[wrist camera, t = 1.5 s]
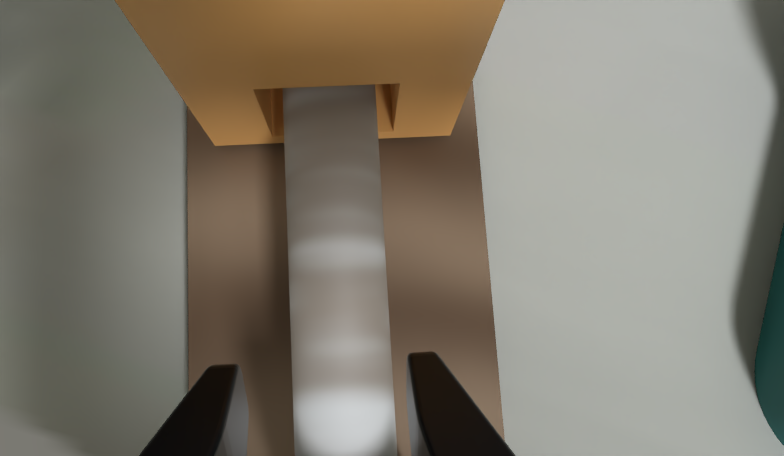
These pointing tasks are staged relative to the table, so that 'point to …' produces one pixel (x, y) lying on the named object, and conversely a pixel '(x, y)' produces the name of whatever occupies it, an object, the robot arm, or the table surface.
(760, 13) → the table surface
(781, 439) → the bracket
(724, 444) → the table surface
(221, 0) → the orange tan block
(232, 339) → the pipe board
